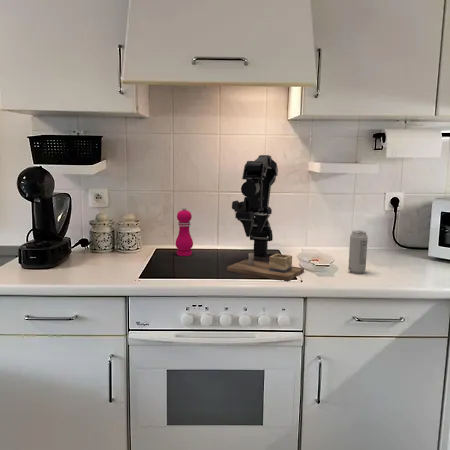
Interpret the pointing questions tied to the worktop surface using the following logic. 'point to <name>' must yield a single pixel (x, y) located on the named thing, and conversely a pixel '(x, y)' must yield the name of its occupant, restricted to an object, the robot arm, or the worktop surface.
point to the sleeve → (280, 263)
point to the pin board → (262, 269)
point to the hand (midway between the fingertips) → (253, 234)
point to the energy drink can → (358, 252)
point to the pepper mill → (184, 233)
